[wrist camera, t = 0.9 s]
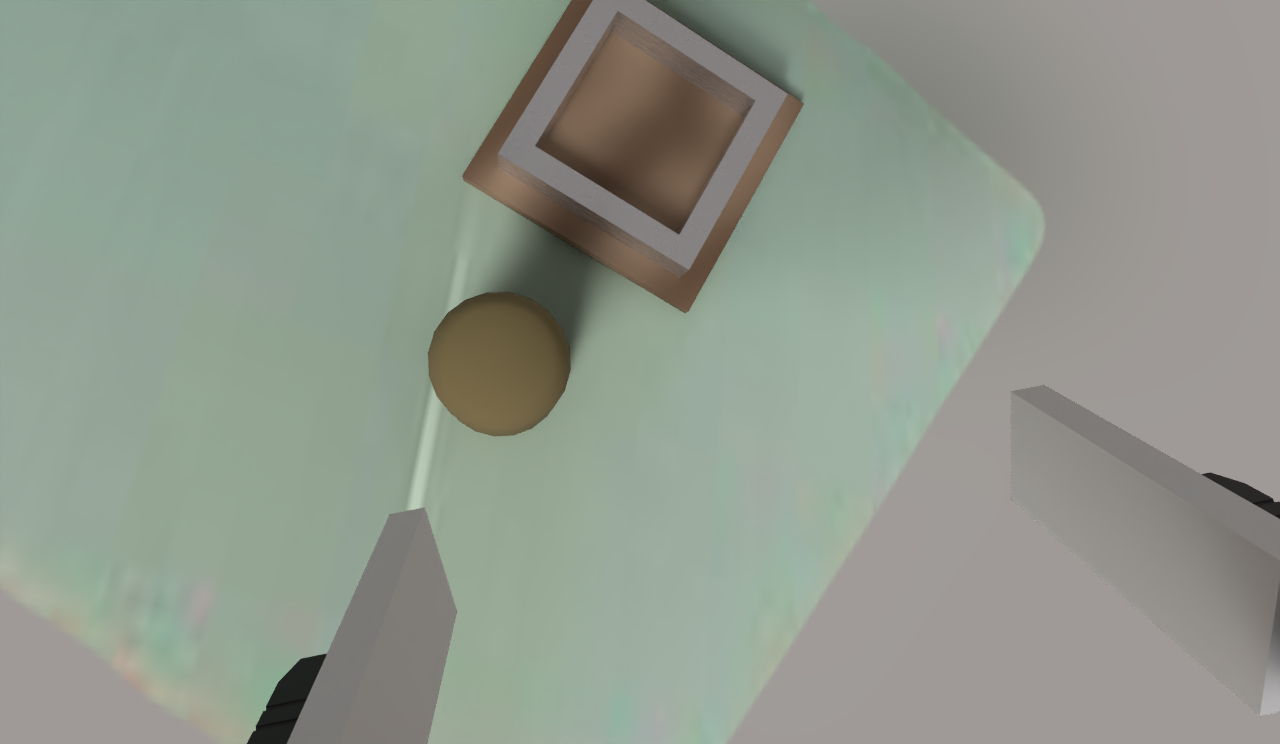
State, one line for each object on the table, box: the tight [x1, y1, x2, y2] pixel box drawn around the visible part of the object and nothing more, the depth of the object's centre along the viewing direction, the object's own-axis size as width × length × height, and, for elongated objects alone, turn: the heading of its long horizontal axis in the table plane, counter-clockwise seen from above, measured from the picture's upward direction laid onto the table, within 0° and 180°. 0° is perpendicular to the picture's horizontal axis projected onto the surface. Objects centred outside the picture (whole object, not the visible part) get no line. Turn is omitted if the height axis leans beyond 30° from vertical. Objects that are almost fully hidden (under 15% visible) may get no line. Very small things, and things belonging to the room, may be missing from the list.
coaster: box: [463, 0, 803, 313], centre depth 37 cm, size 13×13×3 cm
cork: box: [428, 292, 570, 436], centre depth 31 cm, size 6×6×11 cm
